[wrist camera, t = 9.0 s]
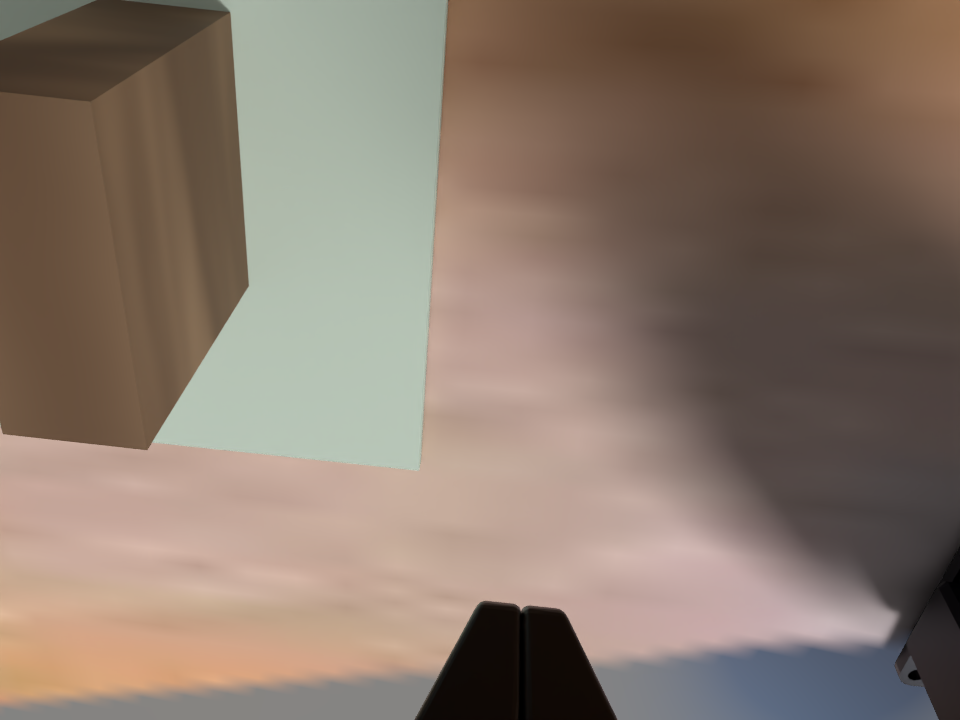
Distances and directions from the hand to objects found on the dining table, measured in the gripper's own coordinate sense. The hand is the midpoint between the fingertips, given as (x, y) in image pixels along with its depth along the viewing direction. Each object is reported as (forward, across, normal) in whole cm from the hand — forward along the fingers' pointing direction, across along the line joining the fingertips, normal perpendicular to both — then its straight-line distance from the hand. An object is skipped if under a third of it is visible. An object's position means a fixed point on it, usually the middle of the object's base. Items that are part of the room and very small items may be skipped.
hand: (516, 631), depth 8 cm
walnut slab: (+11, +7, 0) cm, 14 cm away
